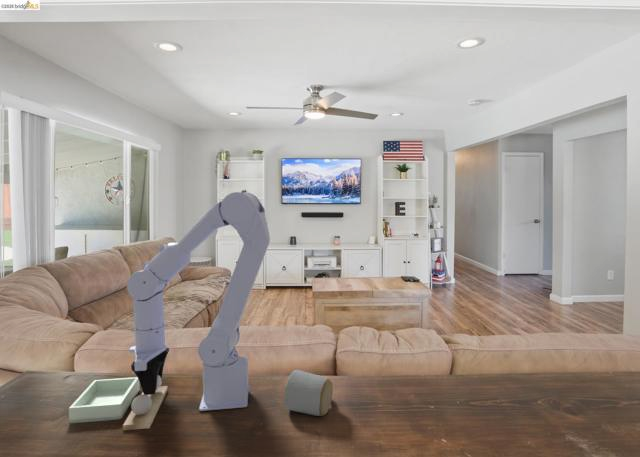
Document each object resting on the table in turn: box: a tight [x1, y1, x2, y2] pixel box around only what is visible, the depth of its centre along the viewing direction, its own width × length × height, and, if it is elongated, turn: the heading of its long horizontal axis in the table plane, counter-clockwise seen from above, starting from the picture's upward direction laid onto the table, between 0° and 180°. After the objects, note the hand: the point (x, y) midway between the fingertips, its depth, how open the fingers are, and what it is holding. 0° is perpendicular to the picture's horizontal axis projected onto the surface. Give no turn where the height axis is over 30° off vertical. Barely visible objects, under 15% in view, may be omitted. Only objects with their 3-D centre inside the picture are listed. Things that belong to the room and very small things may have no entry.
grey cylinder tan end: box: [283, 369, 334, 417], centre depth 77 cm, size 11×8×8 cm
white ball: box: [156, 375, 162, 390], centre depth 80 cm, size 4×4×4 cm
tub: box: [68, 376, 141, 424], centre depth 78 cm, size 9×11×3 cm
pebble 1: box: [130, 393, 152, 415], centre depth 73 cm, size 4×4×4 cm
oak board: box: [122, 385, 169, 431], centre depth 77 cm, size 5×14×1 cm, turn 9°
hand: (152, 388), depth 80 cm, fingers closed on white ball, 3 cm apart
